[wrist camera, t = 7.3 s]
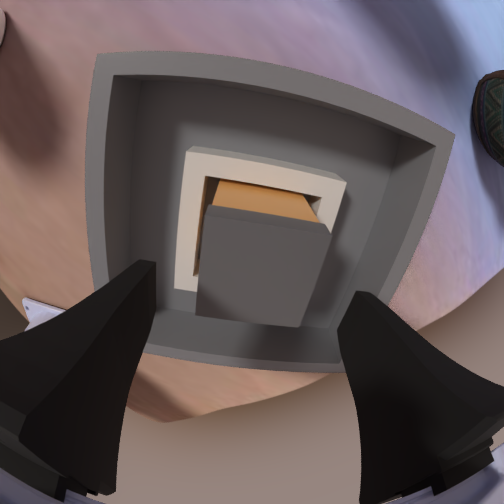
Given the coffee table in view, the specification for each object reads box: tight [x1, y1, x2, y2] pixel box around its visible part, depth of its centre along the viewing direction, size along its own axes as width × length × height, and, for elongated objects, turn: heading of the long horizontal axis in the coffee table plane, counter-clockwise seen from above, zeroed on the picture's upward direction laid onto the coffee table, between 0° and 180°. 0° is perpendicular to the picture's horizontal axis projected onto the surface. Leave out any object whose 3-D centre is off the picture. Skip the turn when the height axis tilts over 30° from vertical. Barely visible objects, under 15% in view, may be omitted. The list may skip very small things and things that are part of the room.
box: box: [85, 51, 455, 373], centre depth 14 cm, size 16×16×4 cm
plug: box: [195, 178, 332, 327], centre depth 12 cm, size 4×4×6 cm
